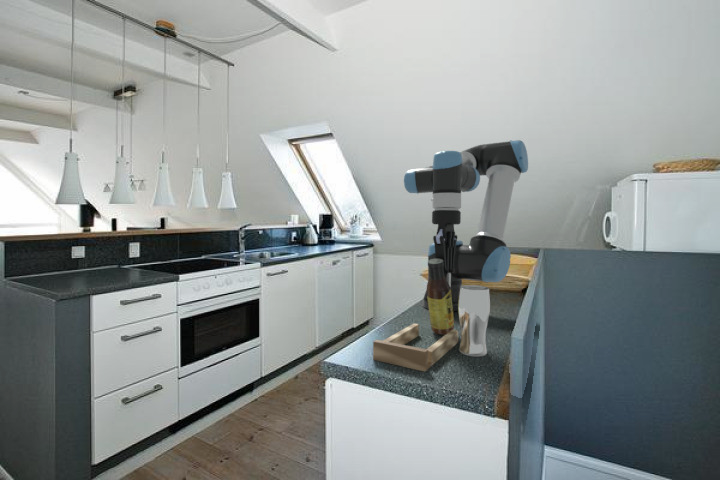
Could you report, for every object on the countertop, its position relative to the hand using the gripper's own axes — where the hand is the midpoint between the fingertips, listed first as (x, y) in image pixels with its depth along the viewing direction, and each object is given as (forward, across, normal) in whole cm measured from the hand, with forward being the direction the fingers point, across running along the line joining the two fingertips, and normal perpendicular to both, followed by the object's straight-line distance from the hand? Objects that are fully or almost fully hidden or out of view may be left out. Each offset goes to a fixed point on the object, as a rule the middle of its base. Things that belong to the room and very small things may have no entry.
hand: (444, 296), depth 101 cm
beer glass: (+10, +12, +11) cm, 19 cm away
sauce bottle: (+9, +1, 0) cm, 9 cm away
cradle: (+10, +18, 0) cm, 20 cm away
